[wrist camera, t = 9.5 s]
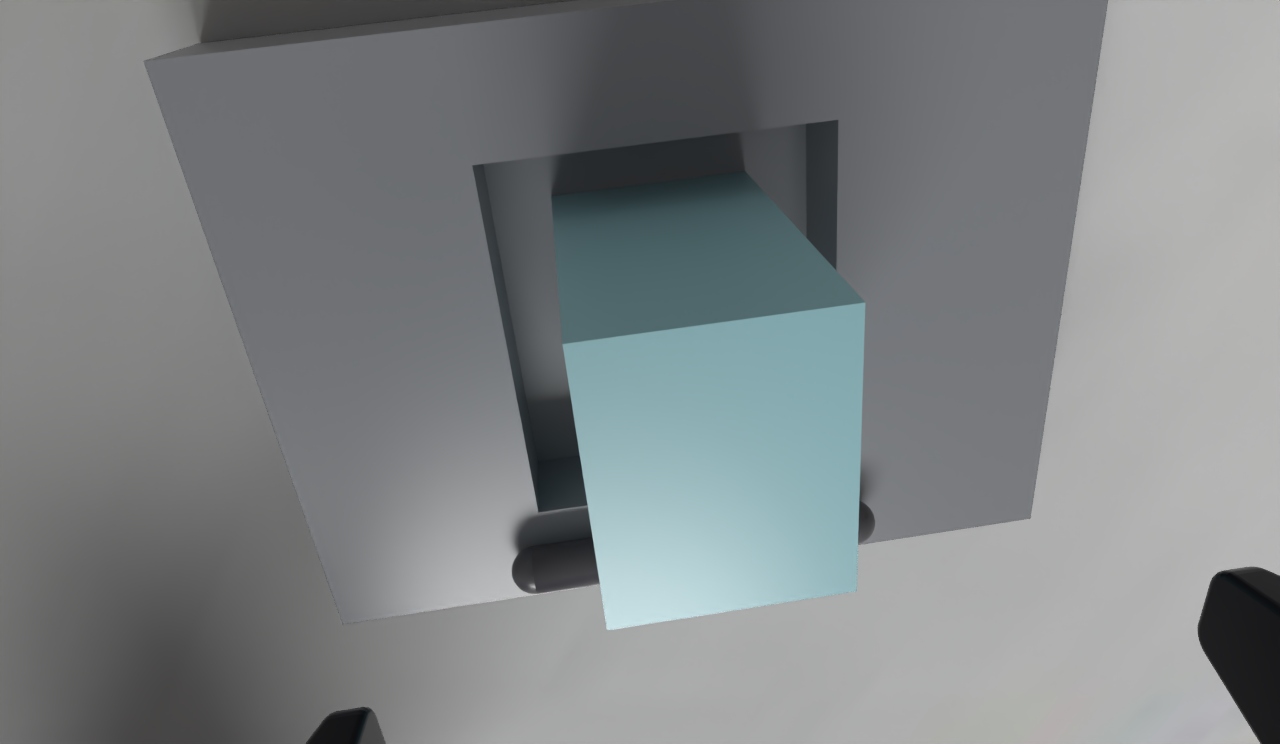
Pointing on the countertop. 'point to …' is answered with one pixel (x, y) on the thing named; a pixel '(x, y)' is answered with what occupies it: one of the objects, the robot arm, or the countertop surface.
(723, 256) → the block
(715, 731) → the countertop surface
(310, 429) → the outlet plate
